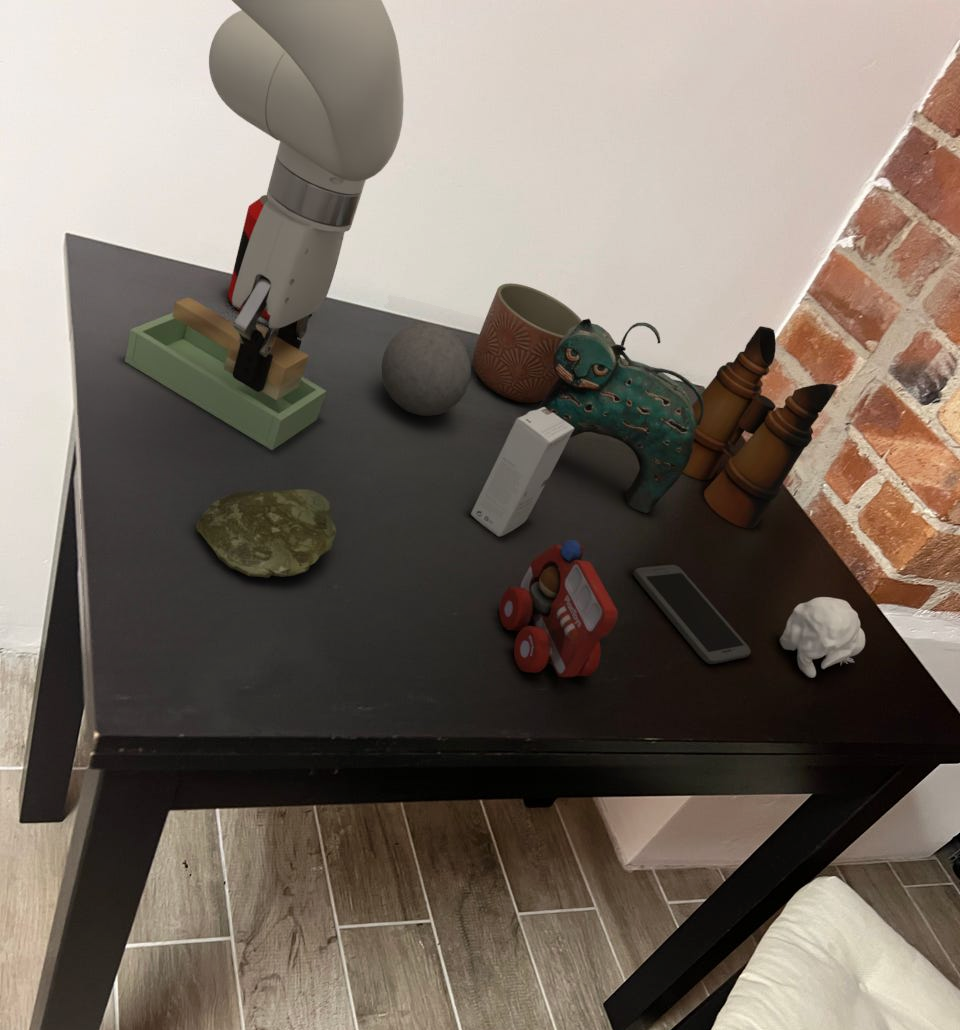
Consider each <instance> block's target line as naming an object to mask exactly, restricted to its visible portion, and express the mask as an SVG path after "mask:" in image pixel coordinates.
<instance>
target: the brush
mask: <svg viewBox="0 0 960 1030" xmlns="http://www.w3.org/2000/svg"><path fill="white" fill-rule="evenodd" d="M172 313H173V317H174V318H176V319H177V320H179V321H181V322H182V323H184V324H186V325H187V326H189V327H191V328H192V329H194V330H196V331H197V332H199V333H201V334H202V335H204V336H206V337H207V338H209V339H211V340H212V341H214V342H216V343H217V344H219V345H221V346H222V347H224V348H226V349H227V350H228V353H227V359H226V363H225V367H224V369H225V370H227V371H228V372H230V373H232V374H233V370H234V366H235V362H236V359H237V355H238V351H239V347H240V342H239V338H240V335H239V333H238V332H237V331H236V329H235V328H234V322H232V321H230V320H228V319H227V318H225V317H223V316H221V315H220V314H218V313H217V312H214V311H213V310H211V309H210V308H208V307H207V306H205V305H203V304H201V303H200V302H198V301H196V300H195V299H193V298H191V297H189V296H187V297H185V298H182V299H180V300H176V301H175V302H174V307H173V311H172ZM256 328H257V330H259V331H260V332H261V333H262V335H263V337H264V338H265V335H266V333H267V330H268V329H265V328H264V327H262V326H260V325H258V324H256ZM270 354H271V355H273V359H272V362H271V365H270V369H269V372H268V376H267V379H266V383H265V386H264V389H263V390H262V392H263V393H265V394H267V395H268V396H270V397H272V398H273V399H275V400H278V399H279V398H281V397H283V396H284V395H286V394H288V393H289V392H291V391H293V390H294V389H296V388H298V387H299V384H300V381H301V378H302V377H303V375H304V372H305V369H306V366H307V363H308V360H309V357H310V356H309V354H307V353H305V352H303V351H302V350H300V348H299V349H297V348H295V347H293V346H292V345H290V344H288V343H287V342H285V341H283V340H282V339H280V338H278V337H277V336H276V339H275V341H274V344H273V346H272V349H271V351H270Z"/></svg>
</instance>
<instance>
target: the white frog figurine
mask: <svg viewBox="0 0 960 1030" xmlns="http://www.w3.org/2000/svg"><path fill="white" fill-rule="evenodd" d="M779 644H780V645H781V647H782V648H783V649H784V650H787V651H792V652H795V651H796V650H797V654H796V661H797V665H798V668H799V670H800V671H801V672H802V673H803V674H804V675H805V676H806V677H808V678H811V679H812V678H813V679H814V678H815V677H816V676H817V670H816V666H815V665H814V663H813V660H819V659H821V658H823V657H825V658H824V659H823V660H822V661H821V664H820V667H821V669H823V670H825V669H826V668H829V667H831V666H833V665H835V664H839V663H840V665H842V664H843V663H846V664H849V663H855V661H854V659H853V658H852V657H855V656H857V655H858V654H860V653H861V652H862V651H863V649H864V648H865V645H866V635H865V632H864V630H863V629H862V628H861V620H860V618H859V614H858V612H857V611H856V610H855V609H854V608H852V606H851V604H850V603H849V602H848V601H846V600H845V599H841V598H836V597H835V598H834V597H829V596H828V597H827V596H820V597H819V596H818V597H815V598H812V599H811V600H808V601H806V602H801V603H799V604H797V605H796V606H795V608H794V609H793V611H792V612H791V615H790V616H789V617H788V619H787V622H786V626H785V629H784V630H783V634H782V635H781V636H780V637H779ZM848 662H849V663H848Z"/></svg>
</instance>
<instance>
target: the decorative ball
mask: <svg viewBox="0 0 960 1030" xmlns="http://www.w3.org/2000/svg"><path fill="white" fill-rule="evenodd" d="M381 379H382V382H383V384H384V387H385V389H386V392H387V394H388V396H389V397H390V398H391V399H392V401H393V402H394V403H395V404H397V406H399V407H400V408H401V409H403V410H405V411H406V412H408V413H411V414H414V415H417V416H423V417H430V416H436V415H440V414H443V413H445V412H448V411H449V410H451V409H452V408H453V407H455V406H456V405H457V404H458V403H459V402H460V401H461V399H462V398H463V397H464V395H465V393H466V391H467V389H468V386H469V384H470V379H471V362H470V357H469V355H468V352H467V349H466V347H465V345H464V344H463V342H462V340H460V339H459V337H458V336H457V335H456V334H454V332H453V331H451V330H450V329H448V328H445V327H444V326H442V325H439V324H435V323H429V322H421V323H416V324H411V325H410V326H406V327H405V328H403V329H402V330H400V331H398V332H397V333H396V334H395V335H394V337H392V338H391V340H390V341H389V343H388V344H387V346H386V347H385V350H384V352H383V356H382V360H381Z"/></svg>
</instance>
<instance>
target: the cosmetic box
mask: <svg viewBox="0 0 960 1030" xmlns="http://www.w3.org/2000/svg"><path fill="white" fill-rule="evenodd" d="M573 430H574V427H573V426H571V425H570V424H569V423H567V422H566V421H564V420H563V419H561V418H560V417H558V416H557V415H556V414H554V413H553V412H551V411H550V410H548V409H547V408H545V407H542V408H540V409H538V408H537V409H534V410H529V411H528V412H527V413H526V414H523V415H522V416H519V417H517V418H516V419H515V421H514V423H513V425H512V428H511V429H510V431H509V434H508V436H507V438H506V440H505V442H504V443H503V445H502V449H501V450H500V452H499V454H498V456H497V459H496V461H495V462H494V464H493V467H492V469H491V471H490V473H489V475H488V477H487V478H486V481H485V484H484V485H483V486H482V490H481V491H480V493H479V495H478V497H477V499H476V502H475V504H474V506H473V508H472V510H471V512H470V516H472V517H473V518H474V519H475V520H476V521H477V522H478V523H480V524H481V525H482V526H483V527H485V528H486V529H487V530H489V531H490V532H491V533H492V534H494V535H495V536H497V537H499V538H500V537H503V536H505V535H507V534H509V533H511V532H513V531H515V530H516V529H517V528H519V527H520V526H521V525H523V524H524V523H525V522H526V521H527V520H528V518H529V516H530V514H531V512H532V510H533V509H534V507H535V505H536V504H537V502H538V499H539V498H540V496H541V493H542V492H543V489H544V488H545V486H546V484H547V482H548V480H549V479H550V477H551V475H552V473H553V471H554V469H555V467H556V465H557V463H558V462H559V459H560V457H561V455H562V454H563V451H564V450H565V447H566V445H567V443H568V442H569V440H570V439H571V438H570V436H571V434H572V432H573Z"/></svg>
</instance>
